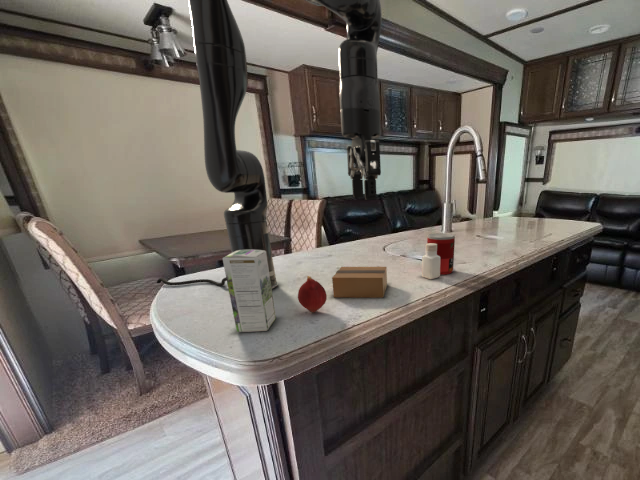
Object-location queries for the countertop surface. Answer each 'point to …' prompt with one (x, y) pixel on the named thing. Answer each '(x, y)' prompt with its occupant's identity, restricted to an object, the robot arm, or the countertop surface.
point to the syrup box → (250, 290)
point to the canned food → (444, 250)
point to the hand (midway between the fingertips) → (364, 198)
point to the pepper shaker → (431, 262)
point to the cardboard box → (360, 282)
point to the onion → (312, 295)
